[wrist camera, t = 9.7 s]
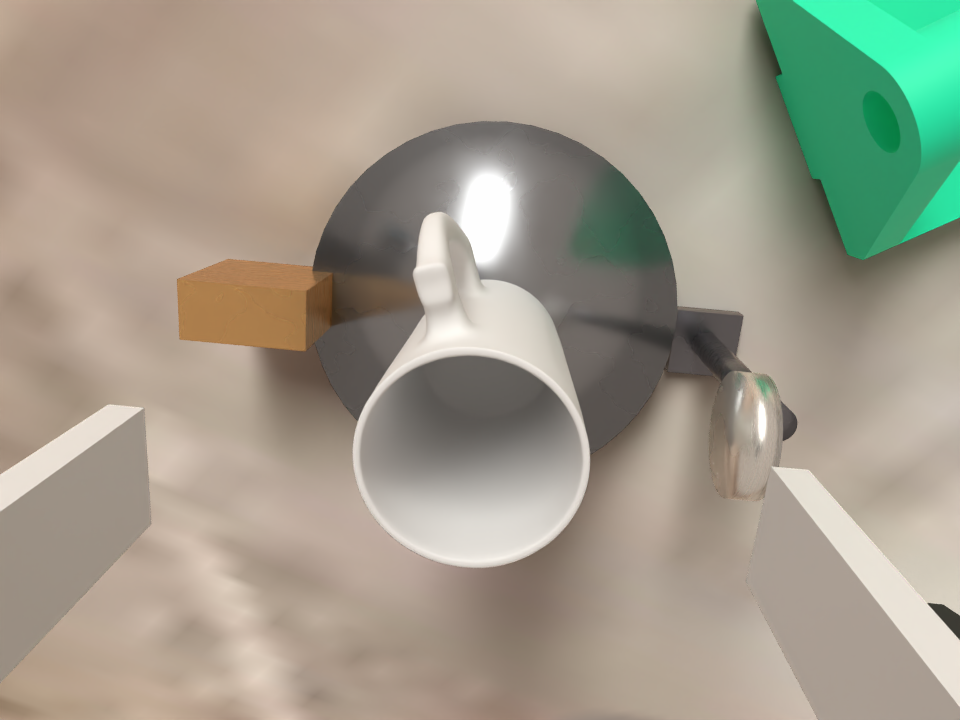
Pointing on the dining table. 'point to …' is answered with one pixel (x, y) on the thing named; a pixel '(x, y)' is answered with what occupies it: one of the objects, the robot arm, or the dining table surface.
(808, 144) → the camera mount
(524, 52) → the dining table surface
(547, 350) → the mug
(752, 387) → the gauge post
